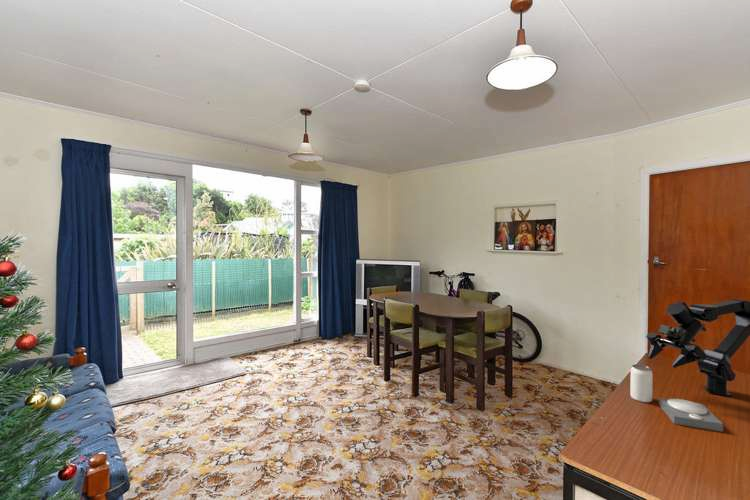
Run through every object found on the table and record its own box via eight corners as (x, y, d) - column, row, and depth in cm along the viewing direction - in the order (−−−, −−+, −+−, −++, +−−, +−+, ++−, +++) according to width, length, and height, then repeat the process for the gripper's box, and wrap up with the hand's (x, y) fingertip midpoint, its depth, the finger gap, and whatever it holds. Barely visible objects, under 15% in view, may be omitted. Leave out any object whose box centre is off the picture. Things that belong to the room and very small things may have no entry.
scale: (658, 404, 124) (659, 395, 124) (701, 410, 119) (702, 401, 119) (674, 423, 111) (674, 413, 111) (723, 431, 106) (723, 421, 106)
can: (656, 403, 125) (656, 371, 124) (636, 402, 126) (636, 370, 126) (645, 395, 131) (646, 364, 131) (626, 394, 132) (627, 363, 132)
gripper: (650, 312, 139) (626, 341, 137) (700, 323, 120) (673, 356, 119) (666, 330, 140) (642, 359, 139) (718, 344, 122) (692, 377, 120)
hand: (660, 362), depth 129 cm, fingers open, 9 cm apart
